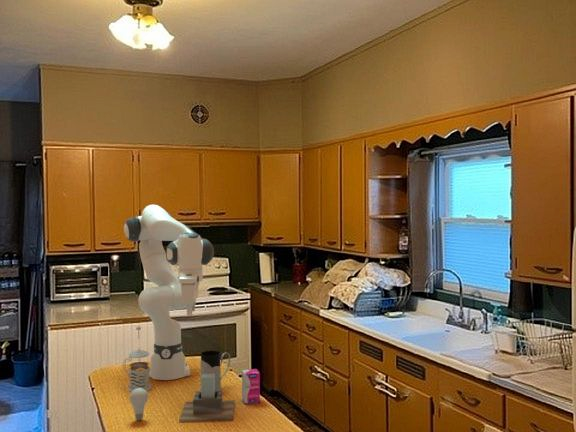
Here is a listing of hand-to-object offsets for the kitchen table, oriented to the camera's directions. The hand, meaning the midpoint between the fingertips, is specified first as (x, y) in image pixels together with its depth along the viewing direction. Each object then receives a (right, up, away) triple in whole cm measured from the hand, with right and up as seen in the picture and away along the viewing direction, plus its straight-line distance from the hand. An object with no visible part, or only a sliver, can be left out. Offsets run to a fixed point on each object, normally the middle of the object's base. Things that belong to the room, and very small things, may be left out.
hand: (191, 313), depth 218 cm
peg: (+8, -32, -11) cm, 35 cm away
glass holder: (+8, -33, +15) cm, 37 cm away
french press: (-25, -33, +17) cm, 45 cm away
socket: (+8, -33, -11) cm, 36 cm away
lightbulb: (-15, -34, -18) cm, 41 cm away
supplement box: (+22, -33, 0) cm, 40 cm away
